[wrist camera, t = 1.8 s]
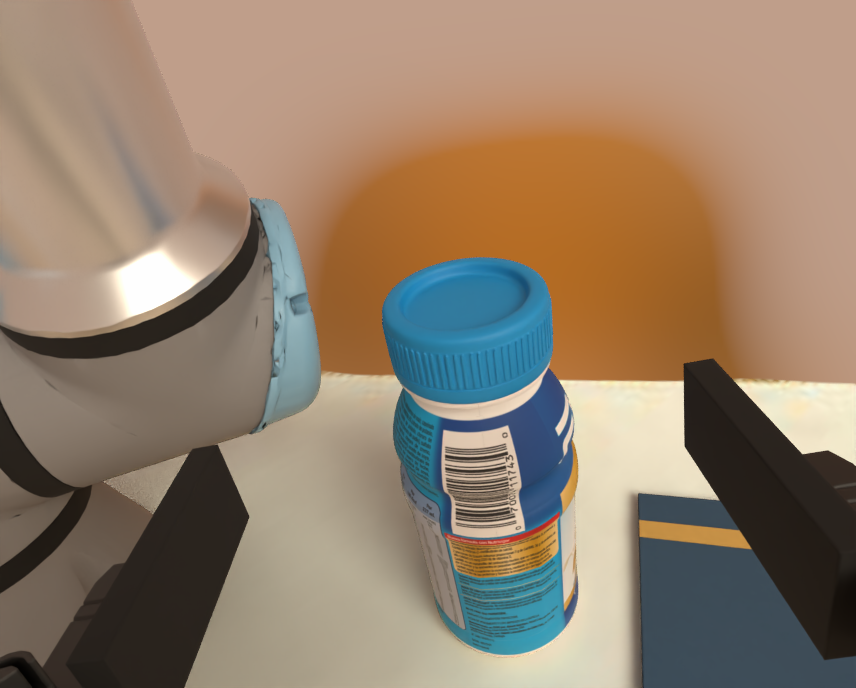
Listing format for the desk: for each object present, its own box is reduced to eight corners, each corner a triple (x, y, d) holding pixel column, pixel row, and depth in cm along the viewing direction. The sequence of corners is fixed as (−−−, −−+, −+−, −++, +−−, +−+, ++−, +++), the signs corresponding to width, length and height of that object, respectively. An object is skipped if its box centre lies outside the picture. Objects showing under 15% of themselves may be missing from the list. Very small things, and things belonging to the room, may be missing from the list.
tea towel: (638, 499, 38) (638, 492, 38) (917, 525, 33) (921, 517, 33) (647, 906, 22) (648, 901, 22) (1172, 1059, 18) (1185, 1055, 18)
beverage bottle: (404, 602, 35) (315, 314, 24) (495, 510, 39) (455, 231, 28) (520, 701, 29) (474, 386, 18) (610, 581, 34) (617, 270, 23)
